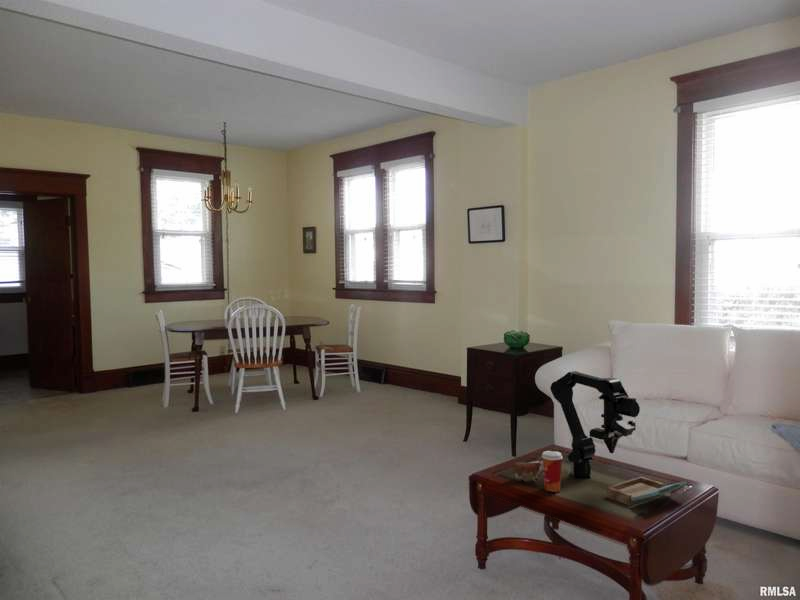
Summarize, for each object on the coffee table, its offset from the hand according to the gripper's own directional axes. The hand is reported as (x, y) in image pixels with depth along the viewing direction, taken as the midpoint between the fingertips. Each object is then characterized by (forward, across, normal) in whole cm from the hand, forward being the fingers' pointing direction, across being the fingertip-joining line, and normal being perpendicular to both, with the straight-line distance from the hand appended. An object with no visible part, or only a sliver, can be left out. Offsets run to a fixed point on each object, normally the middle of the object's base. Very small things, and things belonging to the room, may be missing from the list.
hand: (611, 453), depth 231 cm
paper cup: (+13, -21, +11) cm, 27 cm away
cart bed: (+13, 0, -10) cm, 17 cm away
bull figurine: (+13, -20, +23) cm, 33 cm away
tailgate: (+11, 0, -16) cm, 19 cm away
